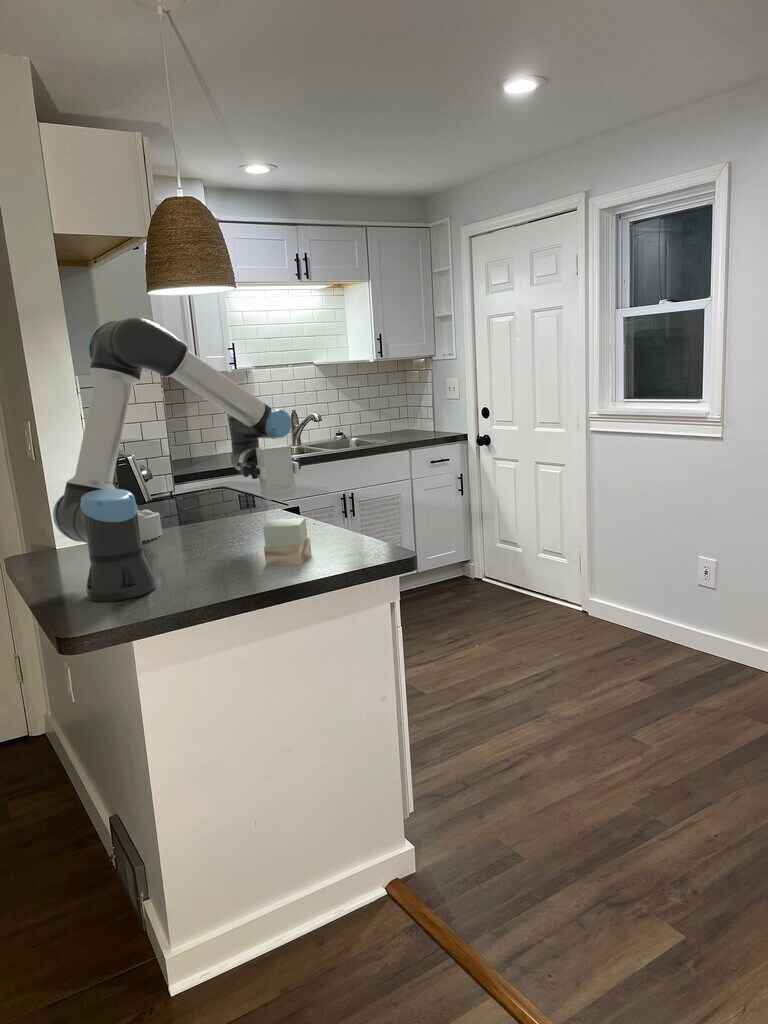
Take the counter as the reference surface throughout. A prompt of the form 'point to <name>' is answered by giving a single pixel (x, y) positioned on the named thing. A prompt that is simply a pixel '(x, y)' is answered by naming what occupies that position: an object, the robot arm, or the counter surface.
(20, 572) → the counter surface
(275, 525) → the block top
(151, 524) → the white bumpy block
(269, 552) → the block bottom
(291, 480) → the supplement box
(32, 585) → the counter surface
